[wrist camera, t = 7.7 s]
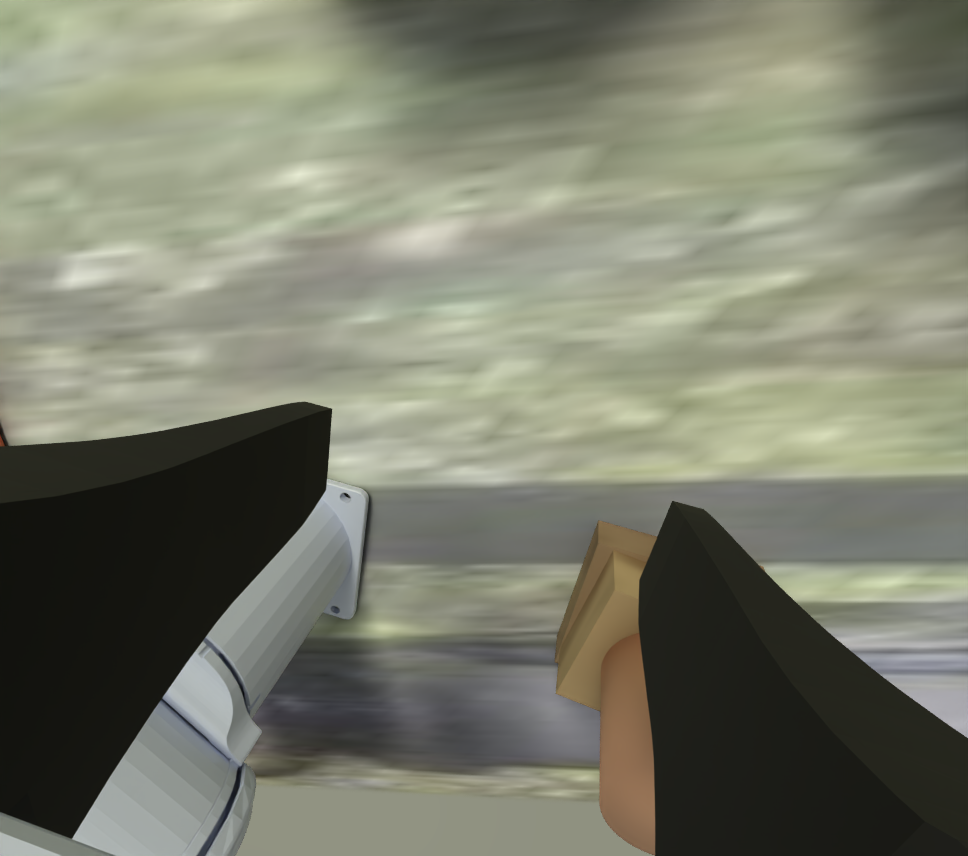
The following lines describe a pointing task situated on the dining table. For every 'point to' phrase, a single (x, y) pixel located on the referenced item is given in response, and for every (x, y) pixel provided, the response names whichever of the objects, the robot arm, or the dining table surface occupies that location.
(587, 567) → the tan square slab
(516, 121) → the dining table surface
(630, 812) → the terracotta cylinder
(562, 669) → the oak top block
